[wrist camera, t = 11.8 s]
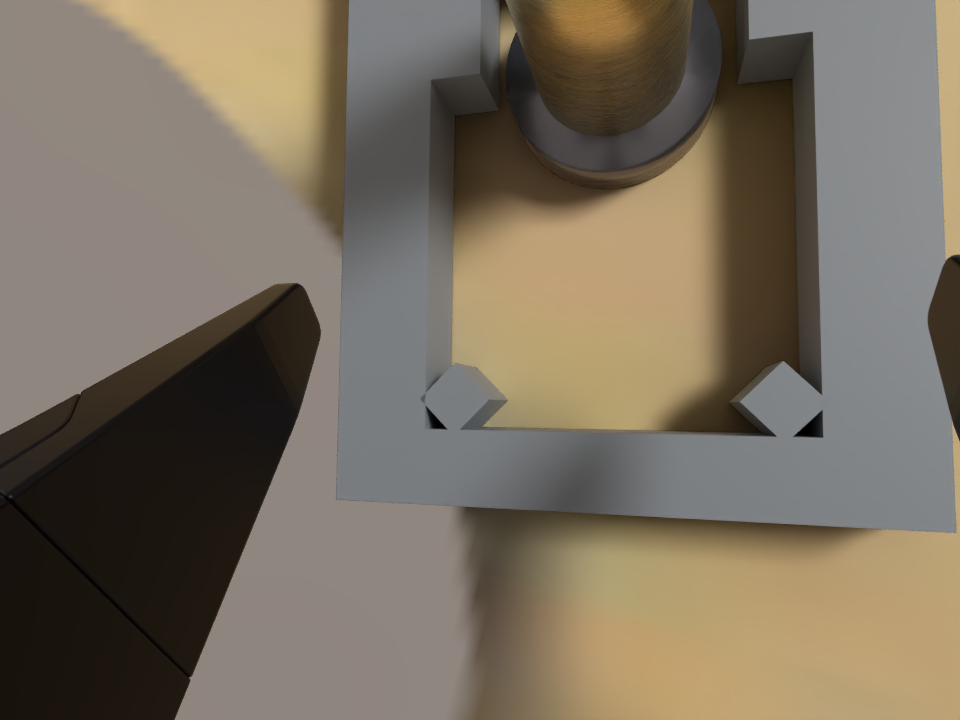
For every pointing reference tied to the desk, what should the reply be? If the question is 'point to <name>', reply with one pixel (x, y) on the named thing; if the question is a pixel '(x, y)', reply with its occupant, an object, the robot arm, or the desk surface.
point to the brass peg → (612, 84)
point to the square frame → (764, 401)
